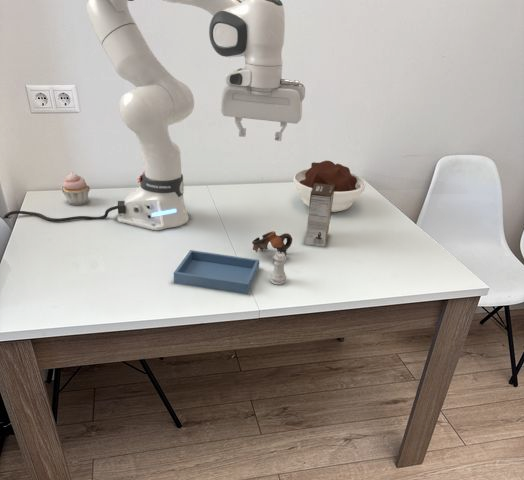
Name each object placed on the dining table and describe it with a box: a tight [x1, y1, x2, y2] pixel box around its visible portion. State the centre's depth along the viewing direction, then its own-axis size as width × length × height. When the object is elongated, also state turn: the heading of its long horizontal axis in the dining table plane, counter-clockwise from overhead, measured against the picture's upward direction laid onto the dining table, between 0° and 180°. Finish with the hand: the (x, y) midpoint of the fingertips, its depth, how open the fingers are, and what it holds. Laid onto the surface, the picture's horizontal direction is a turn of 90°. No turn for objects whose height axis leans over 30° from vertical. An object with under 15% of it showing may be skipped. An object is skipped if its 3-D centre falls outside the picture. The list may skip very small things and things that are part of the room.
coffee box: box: [304, 183, 335, 248], centre depth 147 cm, size 9×6×16 cm
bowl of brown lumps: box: [292, 160, 366, 213], centre depth 170 cm, size 25×25×15 cm
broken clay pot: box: [251, 231, 293, 261], centre depth 140 cm, size 12×10×8 cm
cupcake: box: [60, 171, 91, 206], centre depth 162 cm, size 9×9×10 cm
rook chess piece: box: [269, 251, 287, 286], centre depth 127 cm, size 4×4×8 cm
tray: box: [173, 249, 260, 295], centre depth 129 cm, size 20×14×3 cm
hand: (260, 138), depth 125 cm, fingers open, 8 cm apart
